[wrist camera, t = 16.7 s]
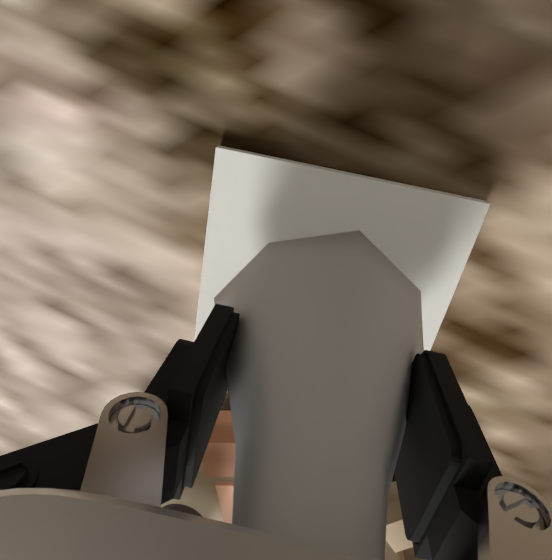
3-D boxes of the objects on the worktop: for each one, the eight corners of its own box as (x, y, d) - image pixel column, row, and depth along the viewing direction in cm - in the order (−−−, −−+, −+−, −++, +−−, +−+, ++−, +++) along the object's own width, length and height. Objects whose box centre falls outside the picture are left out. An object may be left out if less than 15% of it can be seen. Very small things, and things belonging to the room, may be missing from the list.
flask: (278, 430, 16) (215, 832, 7) (181, 283, 14) (-79, 601, 5) (456, 370, 14) (673, 834, 5) (374, 188, 12) (499, 445, 3)
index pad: (484, 200, 15) (490, 204, 14) (400, 407, 19) (402, 416, 19) (219, 145, 15) (215, 147, 15) (194, 360, 19) (190, 367, 19)
